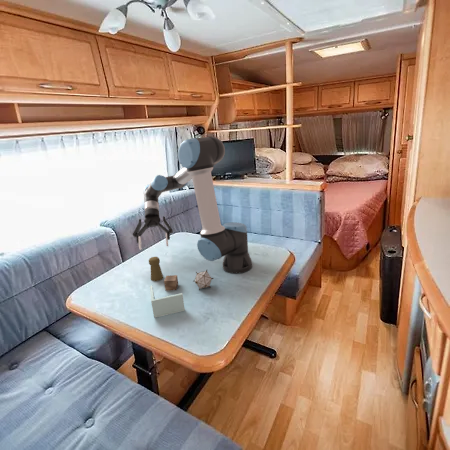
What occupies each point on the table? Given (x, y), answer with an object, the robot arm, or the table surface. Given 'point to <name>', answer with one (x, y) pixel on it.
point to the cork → (155, 269)
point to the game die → (203, 279)
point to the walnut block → (171, 282)
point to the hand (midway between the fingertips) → (153, 247)
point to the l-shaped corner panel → (166, 304)
